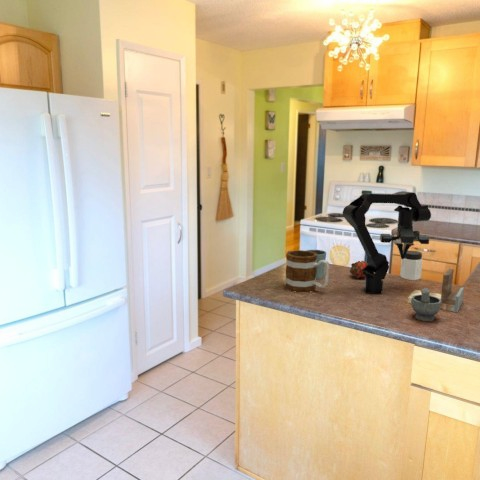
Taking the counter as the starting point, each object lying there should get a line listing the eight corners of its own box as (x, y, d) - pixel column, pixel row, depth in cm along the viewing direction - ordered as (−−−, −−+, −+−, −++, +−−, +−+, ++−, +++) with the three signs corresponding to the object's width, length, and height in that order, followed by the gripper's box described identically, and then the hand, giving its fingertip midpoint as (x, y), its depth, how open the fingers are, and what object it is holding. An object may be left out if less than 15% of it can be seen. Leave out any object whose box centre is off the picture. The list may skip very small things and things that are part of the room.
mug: (278, 288, 183) (279, 254, 180) (295, 281, 193) (296, 248, 190) (320, 298, 171) (321, 261, 168) (335, 290, 181) (337, 255, 178)
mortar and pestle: (413, 311, 158) (415, 279, 155) (441, 315, 153) (444, 283, 151) (407, 321, 148) (410, 287, 146) (437, 326, 144) (440, 292, 141)
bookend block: (440, 302, 161) (443, 274, 158) (445, 295, 169) (448, 268, 166) (455, 305, 158) (458, 276, 156) (459, 298, 166) (462, 270, 164)
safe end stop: (454, 311, 157) (455, 296, 156) (459, 302, 167) (461, 287, 166) (457, 312, 156) (458, 296, 155) (462, 302, 167) (464, 287, 166)
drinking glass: (328, 276, 202) (329, 251, 199) (320, 281, 193) (321, 255, 191) (308, 272, 207) (309, 248, 205) (299, 278, 199) (300, 252, 196)
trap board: (407, 302, 166) (407, 297, 166) (414, 294, 176) (415, 289, 176) (454, 311, 157) (454, 306, 157) (459, 302, 167) (459, 297, 167)
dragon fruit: (353, 283, 196) (361, 281, 206) (369, 275, 192) (377, 272, 202) (344, 267, 198) (352, 265, 208) (360, 258, 194) (367, 256, 204)
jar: (412, 281, 194) (414, 255, 192) (396, 277, 201) (398, 251, 198) (424, 278, 199) (426, 252, 197) (408, 274, 206) (410, 249, 203)
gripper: (384, 224, 172) (382, 262, 175) (434, 226, 169) (430, 264, 172) (380, 220, 183) (378, 256, 186) (427, 221, 179) (423, 258, 183)
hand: (402, 258), depth 181 cm, fingers closed
